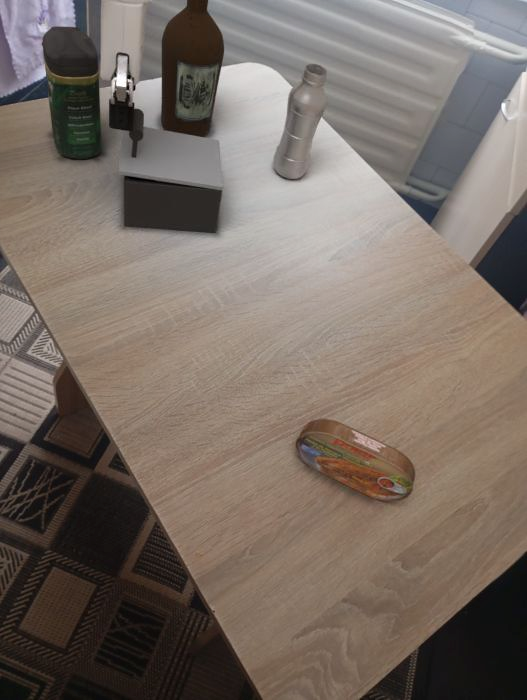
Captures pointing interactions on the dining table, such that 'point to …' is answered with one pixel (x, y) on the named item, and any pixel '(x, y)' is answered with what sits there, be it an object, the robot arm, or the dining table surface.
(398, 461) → the tin
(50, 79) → the coffee jar
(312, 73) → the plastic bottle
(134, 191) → the dark brown box
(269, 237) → the dining table surface
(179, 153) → the box lid
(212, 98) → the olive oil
